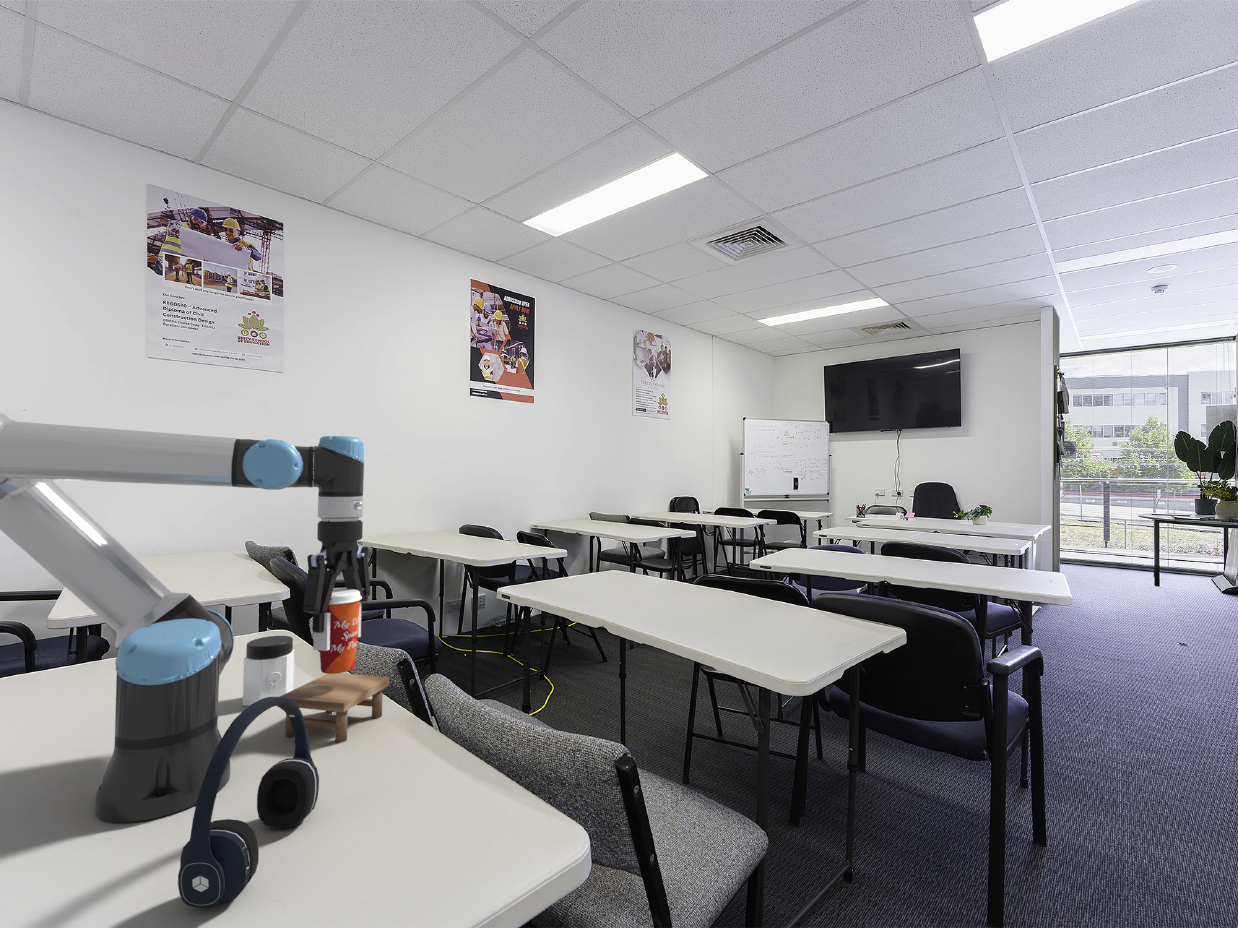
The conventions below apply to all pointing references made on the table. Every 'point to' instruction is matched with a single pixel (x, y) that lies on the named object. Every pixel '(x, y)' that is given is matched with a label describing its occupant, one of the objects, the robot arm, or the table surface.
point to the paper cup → (342, 631)
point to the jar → (268, 668)
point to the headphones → (230, 847)
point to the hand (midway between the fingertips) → (338, 642)
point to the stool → (338, 699)
